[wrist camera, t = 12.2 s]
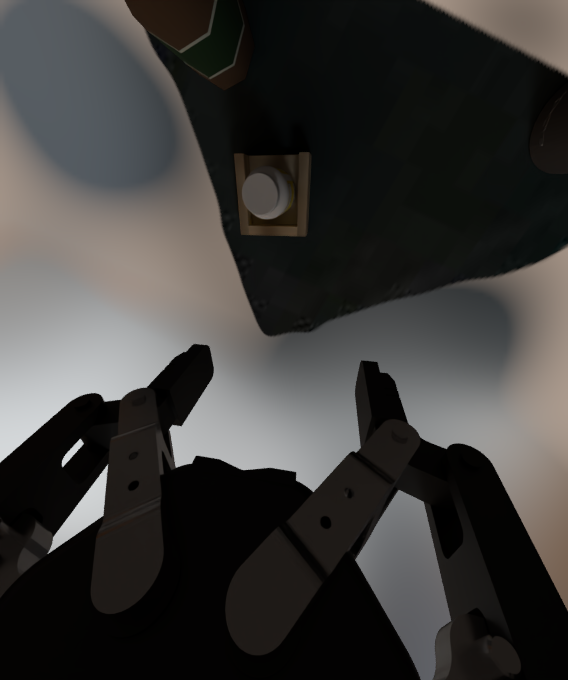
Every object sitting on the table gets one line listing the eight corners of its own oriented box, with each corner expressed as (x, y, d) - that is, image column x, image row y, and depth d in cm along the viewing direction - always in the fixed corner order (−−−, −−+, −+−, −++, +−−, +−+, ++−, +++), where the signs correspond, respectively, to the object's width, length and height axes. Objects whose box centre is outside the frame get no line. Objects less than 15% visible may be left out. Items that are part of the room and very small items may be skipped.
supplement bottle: (250, 187, 34) (225, 187, 26) (281, 159, 32) (263, 148, 24) (273, 222, 36) (256, 232, 28) (303, 197, 34) (294, 200, 26)
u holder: (311, 155, 32) (309, 152, 29) (307, 232, 37) (305, 236, 34) (242, 156, 34) (234, 153, 31) (248, 231, 38) (241, 234, 36)
